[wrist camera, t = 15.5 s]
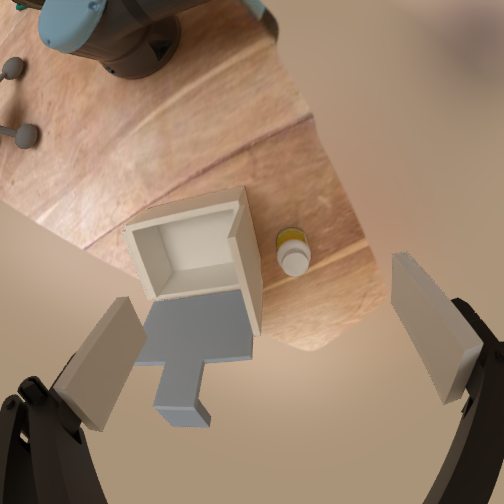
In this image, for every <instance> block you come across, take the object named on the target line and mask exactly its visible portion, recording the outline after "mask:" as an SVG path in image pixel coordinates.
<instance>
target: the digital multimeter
mask: <svg viewBox="0 0 504 504" xmlns="http://www.w3.org/2000/svg"><path fill="white" fill-rule="evenodd" d="M25 8H27V7H26V6H23V5H20V4H17V5H16V10H20V11H21V10H23V9H25Z"/></svg>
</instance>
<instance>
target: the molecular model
mask: <svg viewBox="0 0 504 504" xmlns="http://www.w3.org/2000/svg"><path fill="white" fill-rule="evenodd" d="M22 70H23V61H22V59H21V58H19V57H12V58H10V59H9V60H7V61H6V63H5V64H4V66H3V69H2V74H1V75H0V82H1V81H2V80H3V79H4V78H5V79H7V80H12V79H15V78H16V77H18V76H19V75H20V73H21V72H22ZM0 133H2V134H5V135H9V136H12V137H15V143H16V145H17V146H18V147H19V148H21V149H28V148H30V147H31V146H33V145H34V143H35V142H36V139H37V129H36V128H35V126H33V125H32V124H24V125H22V126H21V127H20V128H19V129H18V130H14V129H11V128H7V127H4V126H1V125H0Z"/></svg>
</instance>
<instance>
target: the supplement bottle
mask: <svg viewBox="0 0 504 504" xmlns="http://www.w3.org/2000/svg"><path fill="white" fill-rule="evenodd" d="M276 249H277V260H278V263H279V265H280V266H281V267H282V269H283V271H284V272H285V273H286V274H287V275H289V276H292V277H297V276H301V275H303V274H304V273H305V272H306V271H307V269H308V266H309V262H310V260H311V251H310V248H309V244H308V241H307V237H306V235H305V233H304V231H303V230H301V229H300V228H298V227H295V226H288V227H285V228H283V229H282V230H281V231H280V232H279V233H278V235H277V238H276Z"/></svg>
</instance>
